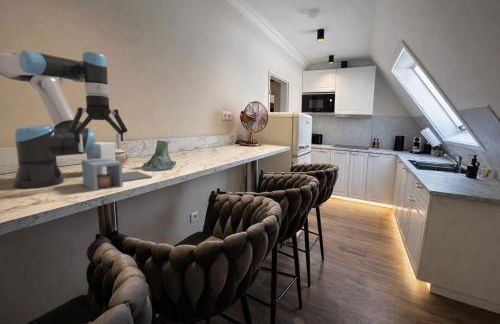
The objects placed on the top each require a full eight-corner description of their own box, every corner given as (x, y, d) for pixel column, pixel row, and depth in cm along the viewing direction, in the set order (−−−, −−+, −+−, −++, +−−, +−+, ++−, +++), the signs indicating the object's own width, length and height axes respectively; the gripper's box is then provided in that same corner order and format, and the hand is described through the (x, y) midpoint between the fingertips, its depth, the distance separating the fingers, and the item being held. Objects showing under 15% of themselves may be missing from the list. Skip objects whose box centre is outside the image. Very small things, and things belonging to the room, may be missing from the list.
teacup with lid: (114, 169, 132) (113, 147, 130) (103, 167, 135) (102, 146, 134) (133, 166, 142) (132, 146, 140) (122, 164, 146) (122, 144, 144)
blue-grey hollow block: (83, 184, 101) (81, 160, 100) (109, 180, 109) (108, 157, 107) (94, 191, 92) (93, 165, 91) (122, 186, 100) (121, 162, 98)
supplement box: (102, 170, 128) (101, 141, 126) (116, 171, 126) (115, 142, 124) (87, 173, 120) (84, 143, 117) (102, 175, 117) (100, 144, 115)
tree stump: (132, 170, 133) (135, 137, 135) (156, 172, 152) (158, 143, 154) (160, 171, 128) (163, 137, 129) (181, 173, 147) (184, 144, 148)
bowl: (91, 184, 100) (90, 175, 100) (108, 182, 105) (108, 173, 105) (96, 188, 96) (95, 178, 95) (114, 185, 101) (114, 175, 100)
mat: (107, 176, 116) (106, 174, 116) (136, 172, 127) (136, 171, 127) (120, 182, 106) (120, 180, 106) (151, 177, 116) (151, 176, 116)
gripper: (59, 91, 83) (65, 153, 86) (134, 98, 102) (136, 149, 105) (54, 92, 88) (60, 151, 91) (126, 99, 107) (129, 147, 110)
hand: (101, 150), depth 98 cm, fingers open, 13 cm apart
